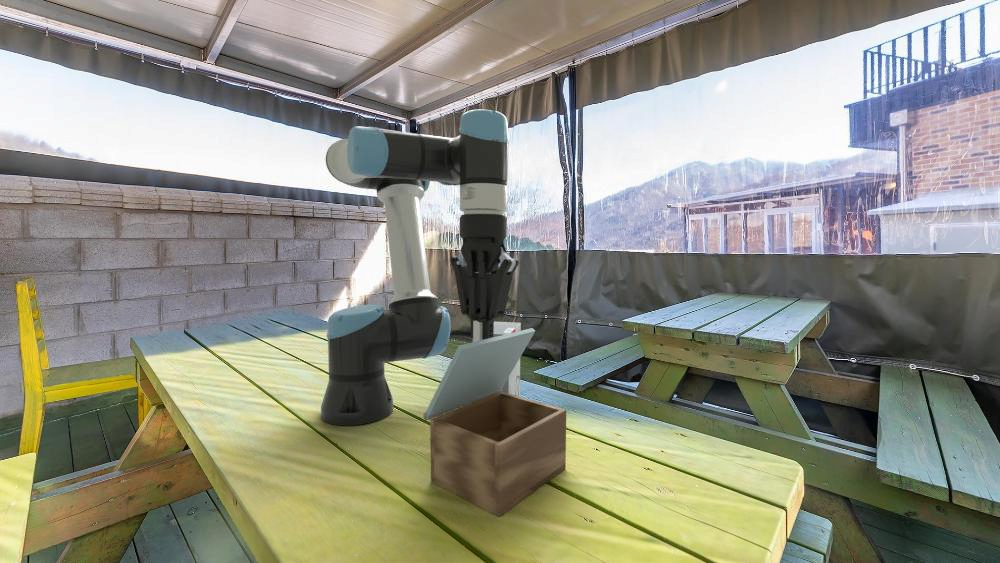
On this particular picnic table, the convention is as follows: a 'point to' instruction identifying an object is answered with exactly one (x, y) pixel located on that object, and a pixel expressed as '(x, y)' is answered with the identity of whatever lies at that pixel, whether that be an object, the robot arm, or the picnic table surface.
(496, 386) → the lid
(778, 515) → the picnic table surface
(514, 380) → the hard drive box
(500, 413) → the crate
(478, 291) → the robot arm
